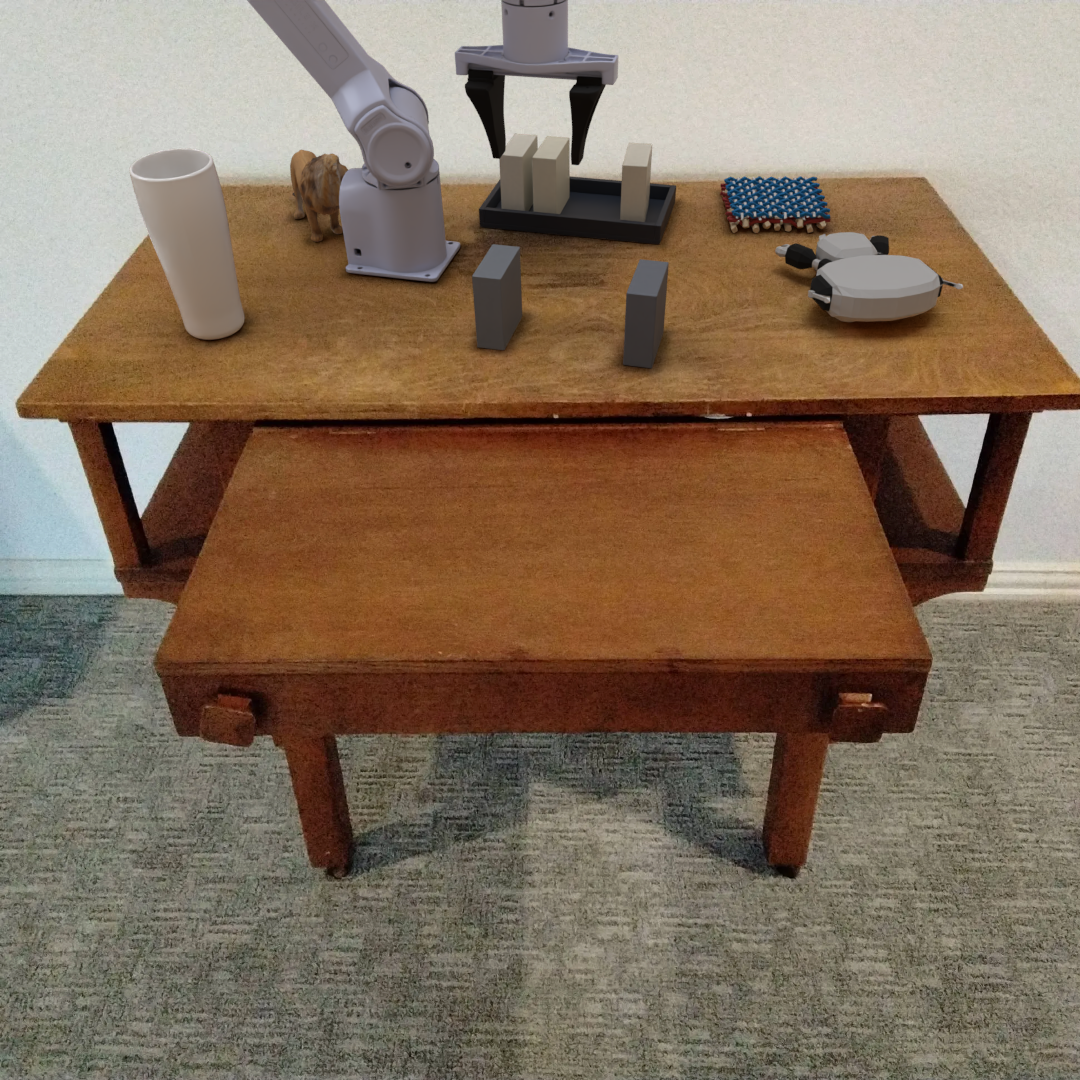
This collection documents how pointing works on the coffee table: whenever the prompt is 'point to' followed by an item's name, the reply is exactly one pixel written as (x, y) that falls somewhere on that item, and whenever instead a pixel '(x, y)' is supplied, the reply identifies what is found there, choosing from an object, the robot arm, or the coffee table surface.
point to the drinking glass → (191, 237)
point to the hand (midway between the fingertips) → (537, 157)
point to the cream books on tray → (535, 174)
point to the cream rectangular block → (636, 182)
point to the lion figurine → (317, 188)
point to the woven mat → (774, 203)
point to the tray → (587, 213)
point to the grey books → (503, 304)
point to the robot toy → (865, 278)
